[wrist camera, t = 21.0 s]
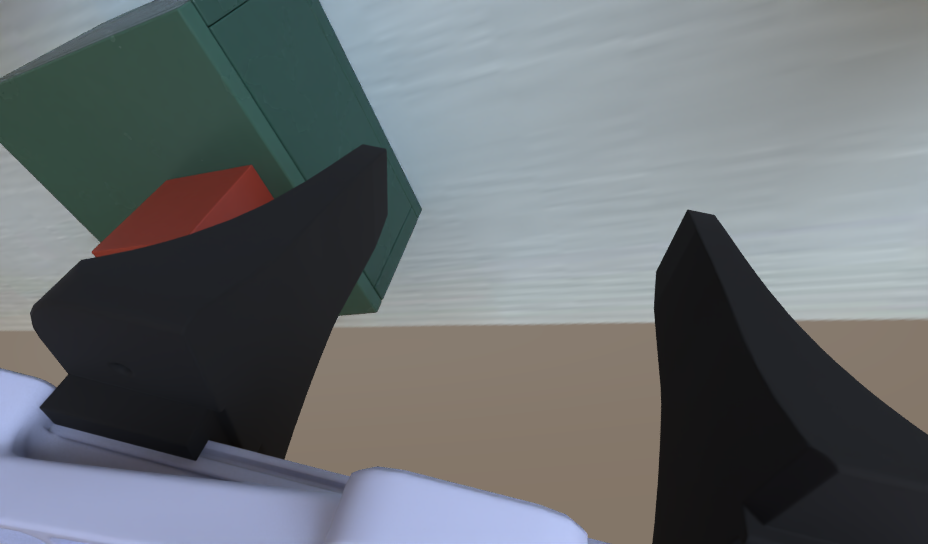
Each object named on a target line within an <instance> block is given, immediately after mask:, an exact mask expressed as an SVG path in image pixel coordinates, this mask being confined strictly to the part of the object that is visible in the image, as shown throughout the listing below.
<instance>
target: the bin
mask: <svg viewBox="0 0 928 544" xmlns="http://www.w3.org/2000/svg"><path fill="white" fill-rule="evenodd" d="M187 1H190V2H192V3H193V5H194V6H195V8H196V10H197V11H198V13H199V14H200V16H201V17H202V19H203V21H204V22H205V24H206V25H207V27H208V28H209V30H210V32H211V33H212V35H213V36H214V38H215V39H216V41H217V43H218V44H219V46H220V47H221V49H222V50H223V52H224V54H225V55H226V57H227V58H228V60H229V61H230V63H231V65H232V66H233V68H234V69H235V71H236V72H237V74H238V76H239V77H240V79H241V80H242V82H243V83H244V85H245V87H246V88H247V90H248V91H249V93H250V94H251V96H252V98H253V99H254V101H255V102H256V104H257V105H258V107H259V109H260V110H261V112H262V113H263V115H264V117H265V118H266V120H267V121H268V123H269V124H270V126H271V128H272V129H273V131H274V132H275V134H276V135H277V137H278V139H279V140H280V142H281V143H282V145H283V146H284V148H285V150H286V151H287V153H288V154H289V156H290V157H291V159H292V161H293V162H294V164H295V165H296V167H297V168H298V170H299V172H300V173H301V175H302V176H303V178H304V179H305V181H307V180H308V179H310V178H311V177H313V176H314V175H316V174H318V173H319V172H321V171H322V170H324V169H325V168H327V167H329V166H330V165H332V164H333V163H335V162H336V161H338V160H339V159H341V158H342V157H344V156H345V155H347V154H348V153H350V152H351V151H353V150H354V149H356V148H357V147H359V146H360V145H362V144H365V145H370V146H375V147H380V148H385V149H387V191H388V215H387V218H386V221H385V224H384V227H383V229H382V232H381V235H380V237H379V240H378V242H377V245H376V248H375V249H374V251H373V253H372V255H371V257H370V259H369V261H368V263H367V264H366V266H365V268H364V270H363V272H364V274H365V275H366V277H367V279H368V280H369V282H370V283H371V285H372V286H373V288H374V290H375V291H376V293H377V294H378V296H379V297H380V299H381V300H382V299H383V298H384V296H385V293H386V291H387V289H388V287H389V284H390V282H391V280H392V277H393V275H394V273H395V271H396V268H397V266H398V264H399V261H400V259H401V257H402V255H403V252H404V250H405V248H406V245H407V243H408V241H409V238H410V236H411V234H412V232H413V229H414V227H415V225H416V222H417V220H418V219H417V218H418V217H419V215H420V213H421V210H422V209H421V207H420V205H419V203H418V201H417V199H416V197H415V195H414V193H413V191H412V189H411V187H410V184H409V182H408V180H407V178H406V176H405V174H404V172H403V170H402V168H401V166H400V164H399V162H398V160H397V158H396V156H395V154H394V152H393V150H392V148H391V146H390V144H389V142H388V140H387V138H386V136H385V134H384V132H383V130H382V128H381V126H380V124H379V122H378V120H377V118H376V116H375V114H374V111H373V109H372V107H371V105H370V103H369V101H368V99H367V97H366V95H365V93H364V91H363V89H362V87H361V85H360V83H359V81H358V79H357V77H356V75H355V73H354V71H353V69H352V67H351V65H350V63H349V61H348V59H347V57H346V55H345V53H344V51H343V49H342V47H341V45H340V43H339V41H338V39H337V36H336V34H335V32H334V30H333V28H332V26H331V24H330V22H329V20H328V18H327V16H326V14H325V12H324V10H323V8H322V6H321V4H320V2H319V0H154V1H152V2H150V3H147V4H145V5H143V6H140V7H138V8H136V9H134V10H131V11H129V12H127V13H124V14H122V15H120V16H118V17H115V18H113V19H111V20H109V21H106V22H104V23H102V24H100V25H98V26H96V27H94V28H92V29H91V30H89V31H87V32H85V33H83V34H81V35H79V36H78V37H76V38H74V39H72V40H70V41H68V42H66V43H65V44H63V45H61V46H59V47H57V48H55V49H53V50H52V51H50V52H48V53H46V54H44V55H42V56H40V57H39V58H37V59H35V60H33V61H31V62H29V63H27V64H26V65H24V66H22V67H20V68H18V69H16V70H14V71H13V72H11V73H9V74H7V75H5V76H3V77H1V78H0V80H2V79H5V78H7V77H9V76H12V75H14V74H17V73H19V72H21V71H24V70H26V69H28V68H31V67H33V66H36V65H38V64H40V63H43V62H45V61H47V60H50V59H52V58H54V57H57V56H59V55H62V54H64V53H66V52H69V51H71V50H73V49H76V48H78V47H81V46H83V45H85V44H88V43H90V42H92V41H95V40H97V39H100V38H102V37H104V36H107V35H109V34H111V33H114V32H116V31H118V30H121V29H123V28H126V27H128V26H130V25H133V24H135V23H137V22H140V21H142V20H145V19H147V18H149V17H152V16H154V15H156V14H159V13H161V12H164V11H166V10H168V9H171V8H173V7H175V6H178V5H180V4H182V3H185V2H187Z"/></svg>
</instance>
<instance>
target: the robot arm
mask: <svg viewBox="0 0 928 544" xmlns="http://www.w3.org/2000/svg"><path fill="white" fill-rule="evenodd" d="M387 215H388V191H387V149H385V148H380V147H375V146H370V145H365V144H362V145H360V146H359V147H357V148H356V149H354V150H353V151H351V152H350V153H348V154H347V155H345V156H344V157H342V158H341V159H339V160H338V161H336V162H335V163H333V164H332V165H330V166H329V167H327V168H325V169H324V170H322V171H321V172H319V173H318V174H316V175H314V176H313V177H311V178H310V179H308V180H307V181H305V182H303V183H302V184H300V185H298V186H296V187H295V188H293V189H291V190H289V191H287V192H286V193H284V194H282V195H280V196H279V197H277V198H275V199H273V200H271V201H270V202H268V203H266V204H264V205H262V206H260V207H257V208H255V209H253V210H251V211H249V212H247V213H244V214H242V215H240V216H238V217H235V218H233V219H230V220H228V221H225V222H222V223H220V224H217V225H214V226H211V227H209V228H206V229H203V230H200V231H198V232H195V233H192V234H189V235H186V236H183V237H179V238H176V239H173V240H169V241H166V242H162V243H158V244H154V245H151V246H147V247H143V248H138V249H134V250H130V251H125V252H120V253H115V254H110V255H105V256H100V257H95V258H90V259H84V260H81V261H80V262H79V263H78V264H77V265H75V266H74V267H73V268H72V269H71V270H70V271H69V272H68V273H67V274H66V275H65V276H64V277H63V278H62V279H61V280H60V281H59V282H58V283H57V284H55V285H54V286H53V287H52V288H51V289H50V290H49V291H48V292H47V293H46V294H45V295H44V296H43V297H42V298H41V299H40V300H39V301H38V302H37V303H36V304H34V305H33V308H32V310H31V312H30V315H31V320H32V325H33V328H34V330H35V331H36V333H37V334H38V336H39V338H40V339H41V340H42V341H43V343H44V344H45V345H46V346H47V348H48V349H49V350H50V351H51V353H52V354H53V355H54V356H55V358H56V359H57V360H58V362H59V363H60V364H61V365H62V367H63V368H64V369H65V370H66V372H67V373H68V376H67V377H66V378H65V379H64V380H63V381H62V382H61V384H60V385H59V386H58V387H57V388H56V387H55V386H54V385H52V384H51V383H49V382H47V381H45V380H42V379H40V378H37V377H33V376H29V375H25V374H21V373H17V372H14V371H10V370H6V369H1V368H0V544H610V543H606V542H602V541H598V540H595V539H591V538H587V533H586V532H585V531H584V529H583V528H582V527H581V526H579V525H578V524H577V523H576V522H574V521H573V520H572V519H571V518H570V517H568V516H567V515H566V514H563V513H561V512H558V511H556V510H553V509H550V508H547V507H545V506H542V505H539V504H536V503H531V502H528V501H524V500H520V499H516V498H512V497H508V496H504V495H500V494H496V493H493V492H489V491H485V490H481V489H477V488H473V487H469V486H465V485H461V484H457V483H453V482H449V481H445V480H441V479H437V478H434V477H429V476H426V475H422V474H418V473H414V472H410V471H406V470H400V469H393V468H385V467H378V466H377V467H372V468H367V469H362V470H358V471H356V472H353V473H352V474H351V476H346V475H342V474H338V473H334V472H330V471H326V470H323V469H319V468H315V467H311V466H307V465H303V464H299V463H295V462H292V461H288V460H284V459H285V455H286V452H287V449H288V446H289V443H290V440H291V437H292V434H293V431H294V428H295V425H296V423H297V420H298V417H299V414H300V411H301V409H302V406H303V403H304V400H305V397H306V395H307V392H308V389H309V387H310V384H311V381H312V379H313V376H314V373H315V371H316V368H317V366H318V363H319V360H320V358H321V355H322V353H323V350H324V348H325V346H326V343H327V340H328V338H329V336H330V333H331V331H332V328H333V326H334V324H335V322H336V320H337V318H338V316H339V314H340V312H341V310H342V308H343V307H344V305H345V303H346V301H347V299H348V297H349V296H350V294H351V292H352V290H353V288H354V286H355V285H356V283H357V281H358V279H359V277H360V276H361V274H362V272H363V270H364V268H365V266H366V264H367V263H368V261H369V259H370V257H371V255H372V253H373V251H374V249H375V248H376V245H377V242H378V240H379V237H380V235H381V232H382V229H383V227H384V224H385V221H386V218H387ZM654 314H655V327H656V340H657V351H658V362H659V374H660V384H661V433H660V434H661V435H660V454H659V455H660V456H659V474H658V488H657V500H656V512H655V524H654V534H653V543H652V544H928V435H927V434H926V433H925V432H923V431H922V430H920V429H919V428H917V427H916V426H915V425H913V424H912V423H910V422H909V421H908V420H906V419H905V418H904V417H902V416H901V415H900V414H898V413H897V412H896V411H894V410H893V409H892V408H891V407H889V406H888V405H886V404H885V403H884V402H883V401H881V400H880V399H879V398H877V397H876V396H875V395H874V394H873V393H871V392H870V391H869V390H868V389H866V388H865V387H864V386H863V385H862V384H860V383H859V382H858V381H857V380H856V379H855V378H854V377H852V376H851V375H850V374H849V373H848V372H847V371H846V370H844V369H843V368H842V367H841V366H840V365H839V364H838V363H836V362H835V361H834V360H833V359H832V358H831V357H830V356H829V355H828V354H827V353H826V352H825V351H823V349H822V348H820V347H819V346H818V345H817V343H816V342H815V341H814V340H813V339H811V337H810V336H809V335H808V334H807V333H806V332H805V331H804V330H803V329H802V328H801V327H800V326H799V325H798V324H797V323H796V322H795V321H794V319H793V318H792V317H791V316H790V315H789V314H788V313H787V311H786V310H785V309H784V308H783V307H782V306H781V304H780V303H779V302H778V301H777V300H776V298H775V297H774V296H773V295H772V294H771V292H770V291H769V290H768V288H767V287H766V286H765V285H764V283H763V282H762V281H761V279H760V278H759V277H758V275H757V274H756V273H755V271H754V270H753V269H752V267H751V266H750V265H749V263H748V262H747V260H746V259H745V258H744V256H743V255H742V253H741V252H740V250H739V249H738V248H737V246H736V245H735V243H734V242H733V240H732V239H731V237H730V236H729V235H728V233H727V232H726V230H725V229H724V227H723V226H722V225H721V223H720V222H719V220H718V219H717V218H716V216H715V215H712V214H707V213H702V212H697V211H692V210H687V212H686V214H685V216H684V218H683V220H682V222H681V224H680V226H679V228H678V230H677V231H676V233H675V235H674V237H673V239H672V241H671V243H670V245H669V247H668V249H667V251H666V253H665V255H664V257H663V259H662V261H661V263H660V265H659V267H658V269H657V271H656V283H655V299H654Z"/></svg>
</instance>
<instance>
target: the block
mask: <svg viewBox="0 0 928 544" xmlns="http://www.w3.org/2000/svg"><path fill="white" fill-rule="evenodd" d="M273 199H274V198H273V197H272V195H271V193H270V192H269V190H268V189H267V187H266V186H265V184H264V183H263V181H262V180H261V178H260V176H259V175H258V173H257V172H256V170H255V169H254V167H253V166H252V165H247V166H241V167H236V168H230V169H225V170H219V171H214V172H208V173H203V174H198V175H192V176H187V177H181V178H176V179H170V180H166V181H165V182H164V183H163V184H162V185H161V186H160V187H159V188H158V189H157V190H156V191H155V192H154V193H153V194H152V195H151V196H150V197H148V198H147V199H146V200H145V201H144V202H143V203H142V204H141V205H140V206H139V207H138V208H137V209H136V210H135V211H134V212H133V213H132V214H131V215H130V216H128V217H127V218H126V219H125V220H124V221H123V222H122V223H121V224H120V225H119V226H118V227H117V228H116V229H115V230H114V231H113V232H112V233H111V234H110V235H109V236H107V237H106V238H105V239H104V240H103V241H102V242H101V243H100V244H99V245H98V246H97V247H96V248H95V249H94V250H93V251H92V253H93V255H94V256H95V257H100V256H105V255H110V254H115V253H120V252H125V251H130V250H134V249H138V248H143V247H147V246H151V245H154V244H158V243H162V242H166V241H169V240H173V239H176V238H179V237H183V236H186V235H189V234H192V233H195V232H198V231H200V230H203V229H206V228H209V227H211V226H214V225H217V224H220V223H222V222H225V221H228V220H230V219H233V218H235V217H238V216H240V215H242V214H244V213H247V212H249V211H251V210H253V209H255V208H257V207H260V206H262V205H264V204H266V203H268V202H270V201H271V200H273Z"/></svg>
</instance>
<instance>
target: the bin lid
mask: <svg viewBox="0 0 928 544" xmlns="http://www.w3.org/2000/svg"><path fill="white" fill-rule="evenodd" d="M0 143H1V144H2V145H3V146H4V147H5V148H6V149H7V150H8V151H9V152H10V153H11V154H12V155H13V156H14V157H15V158H16V159H17V160H18V161H19V162H20V163H21V164H22V165H23V166H24V167H25V168H26V169H27V170H28V171H29V172H30V173H31V174H32V175H33V176H34V177H35V178H36V179H37V180H38V181H39V182H40V183H41V184H42V185H43V186H44V187H45V188H46V189H47V190H48V191H49V192H50V193H51V194H52V195H53V196H54V197H55V198H56V199H57V200H58V201H59V202H60V203H61V204H62V205H63V206H64V207H65V208H66V209H67V210H68V211H69V212H70V213H71V214H72V215H73V216H74V217H75V218H76V219H77V220H78V221H79V222H80V223H81V224H82V225H84V226H85V227H86V228H87V229H88V230H89V231H90V232H91V233H92V234H93V235H94V236H95V237H96V238H97V239H98V240H99V241H100V242H102V241H103V240H104V239H105V238H106V237H107V236H109V235H110V234H111V233H112V232H113V231H114V230H115V229H116V228H117V227H118V226H119V225H120V224H121V223H122V222H123V221H124V220H125V219H126V218H127V217H128V216H130V215H131V214H132V213H133V212H134V211H135V210H136V209H137V208H138V207H139V206H140V205H141V204H142V203H143V202H144V201H145V200H146V199H147V198H148V197H150V196H151V195H152V194H153V193H154V192H155V191H156V190H157V189H158V188H159V187H160V186H161V185H162V184H163V183H164V182H165V181H166V180H170V179H176V178H181V177H187V176H192V175H198V174H203V173H208V172H214V171H219V170H225V169H230V168H236V167H241V166H247V165H252V166H253V167H254V169H255V170H256V172H257V173H258V175H259V176H260V178H261V180H262V181H263V183H264V184H265V186H266V187H267V189H268V190H269V192H270V193H271V195H272V197H273V198H274V199H275V198H277V197H279V196H280V195H282V194H284V193H286V192H287V191H289V190H291V189H293V188H295V187H296V186H298V185H300V184H302V183H303V182H305V179H304V178H303V176H302V175H301V173H300V172H299V170H298V168H297V167H296V165H295V164H294V162H293V161H292V159H291V157H290V156H289V154H288V153H287V151H286V150H285V148H284V146H283V145H282V143H281V142H280V140H279V139H278V137H277V135H276V134H275V132H274V131H273V129H272V128H271V126H270V124H269V123H268V121H267V120H266V118H265V117H264V115H263V113H262V112H261V110H260V109H259V107H258V105H257V104H256V102H255V101H254V99H253V98H252V96H251V94H250V93H249V91H248V90H247V88H246V87H245V85H244V83H243V82H242V80H241V79H240V77H239V76H238V74H237V72H236V71H235V69H234V68H233V66H232V65H231V63H230V61H229V60H228V58H227V57H226V55H225V54H224V52H223V50H222V49H221V47H220V46H219V44H218V43H217V41H216V39H215V38H214V36H213V35H212V33H211V32H210V30H209V28H208V27H207V25H206V24H205V22H204V21H203V19H202V17H201V16H200V14H199V13H198V11H197V10H196V8H195V6H194V5H193V3H192V2H190V1H187V2H185V3H182V4H180V5H178V6H175V7H173V8H171V9H168V10H166V11H164V12H161V13H159V14H156V15H154V16H152V17H149V18H147V19H145V20H142V21H140V22H137V23H135V24H133V25H130V26H128V27H126V28H123V29H121V30H118V31H116V32H114V33H111V34H109V35H107V36H104V37H102V38H100V39H97V40H95V41H92V42H90V43H88V44H85V45H83V46H81V47H78V48H76V49H73V50H71V51H69V52H66V53H64V54H62V55H59V56H57V57H54V58H52V59H50V60H47V61H45V62H43V63H40V64H38V65H36V66H33V67H31V68H28V69H26V70H24V71H21V72H19V73H17V74H14V75H12V76H9V77H7V78H5V79H2V80H0ZM380 304H381V299H380V297H379V296H378V294H377V293H376V291H375V290H374V288H373V286H372V285H371V283H370V282H369V280H368V279H367V277H366V275H365V274H364V272H362V274H361V276H360V277H359V279H358V281H357V283H356V285H355V286H354V288H353V290H352V292H351V294H350V296H349V297H348V299H347V301H346V303H345V305H344V307H343V308H342V310H341V312H340V314H339V316H342V315H353V314H365V313H376V312H377V311H378V309H379V307H380Z"/></svg>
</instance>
